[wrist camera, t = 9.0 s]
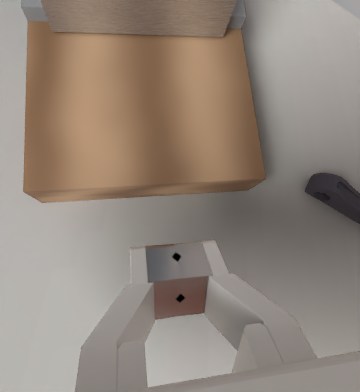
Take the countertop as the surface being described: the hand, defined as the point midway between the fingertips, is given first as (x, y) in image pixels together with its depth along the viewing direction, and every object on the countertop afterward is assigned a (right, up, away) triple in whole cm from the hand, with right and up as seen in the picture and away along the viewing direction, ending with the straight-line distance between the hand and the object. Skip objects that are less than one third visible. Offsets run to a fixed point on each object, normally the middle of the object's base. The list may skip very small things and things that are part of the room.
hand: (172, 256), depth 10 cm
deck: (-2, +8, +10) cm, 13 cm away
